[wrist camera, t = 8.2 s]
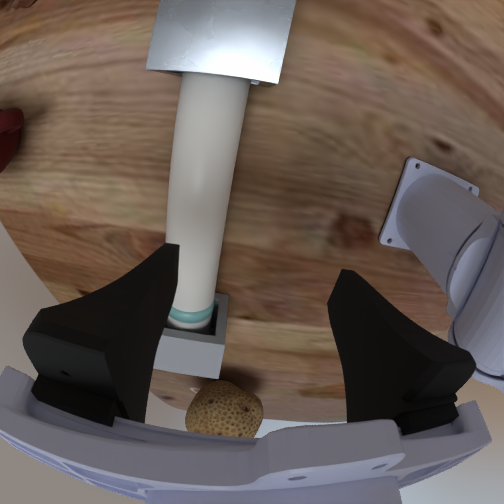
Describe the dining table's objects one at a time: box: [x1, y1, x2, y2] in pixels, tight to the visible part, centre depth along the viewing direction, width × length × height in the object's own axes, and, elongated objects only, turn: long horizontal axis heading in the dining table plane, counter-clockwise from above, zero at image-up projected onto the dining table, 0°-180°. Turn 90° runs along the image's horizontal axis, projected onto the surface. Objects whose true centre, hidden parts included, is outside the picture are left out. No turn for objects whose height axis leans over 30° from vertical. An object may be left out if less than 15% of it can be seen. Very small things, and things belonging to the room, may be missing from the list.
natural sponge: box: [185, 380, 263, 438], centre depth 30 cm, size 9×9×10 cm
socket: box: [153, 293, 229, 379], centre depth 25 cm, size 5×7×6 cm
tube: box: [165, 72, 251, 335], centre depth 19 cm, size 23×4×4 cm, turn 169°
